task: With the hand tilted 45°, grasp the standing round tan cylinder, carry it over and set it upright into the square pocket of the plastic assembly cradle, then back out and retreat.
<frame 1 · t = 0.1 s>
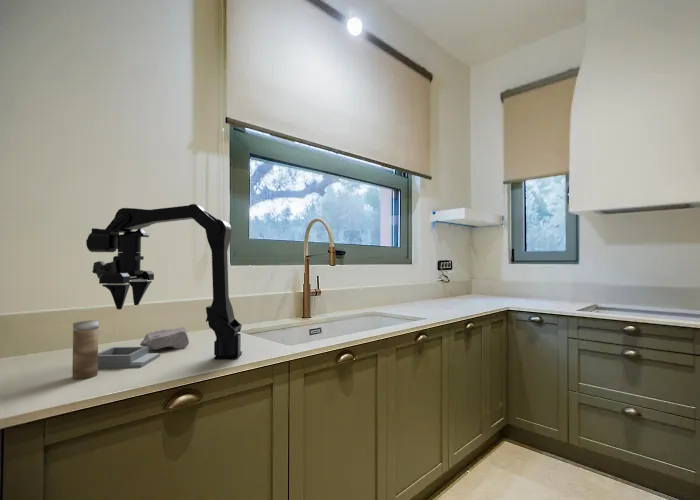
hand: (128, 307, 106), 15 cm above the worktop, fingers open, 9 cm apart
stone: (163, 349, 117), on the worktop
cradle: (121, 362, 102), on the worktop
round tan cylinder: (85, 376, 90), on the worktop
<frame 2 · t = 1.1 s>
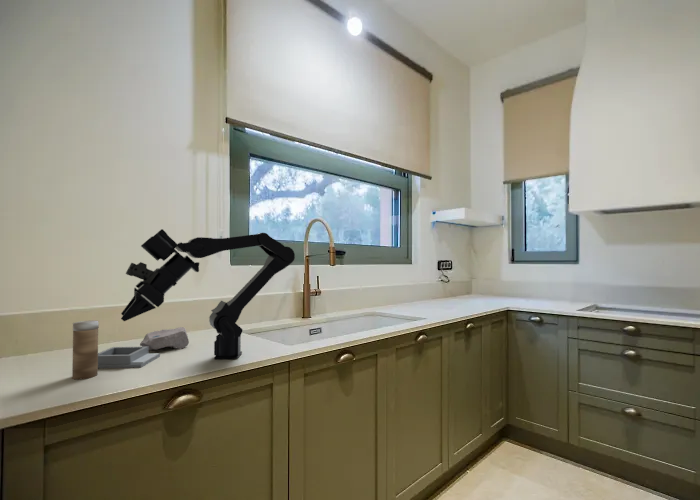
hand: (122, 317, 94), 14 cm above the worktop, fingers open, 9 cm apart
nothing on the worktop moved.
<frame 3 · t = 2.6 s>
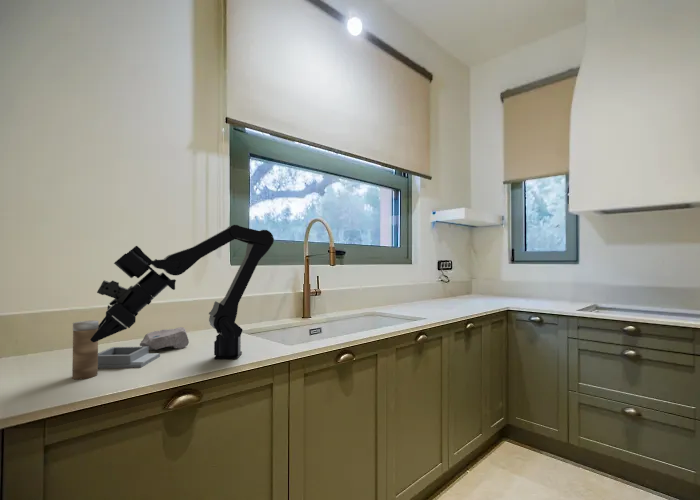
hand: (93, 337, 91), 9 cm above the worktop, fingers open, 9 cm apart
nothing on the worktop moved.
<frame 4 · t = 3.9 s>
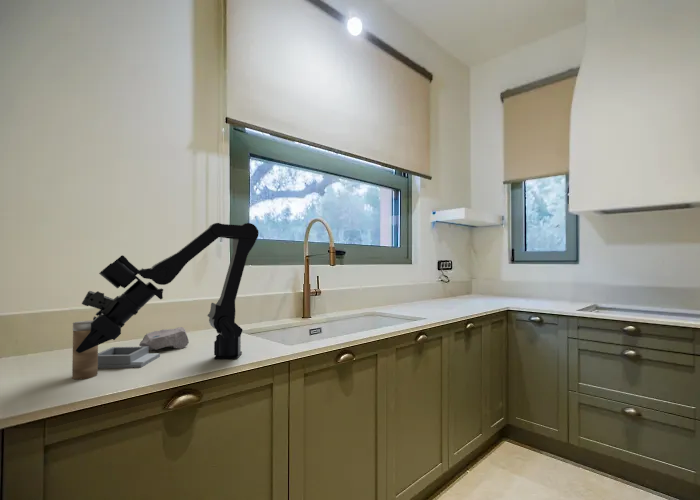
hand: (78, 349, 89), 7 cm above the worktop, fingers closed on round tan cylinder, 5 cm apart
round tan cylinder: (85, 376, 90), on the worktop, touching gripper
everything else where it was.
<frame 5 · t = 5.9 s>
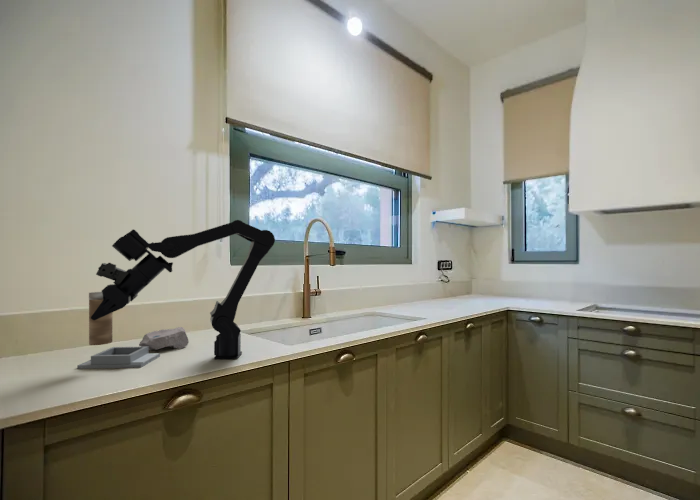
hand: (94, 317, 95), 13 cm above the worktop, fingers closed on round tan cylinder, 5 cm apart
round tan cylinder: (100, 342, 95), point 7 cm above the worktop, touching gripper
everything else where it was.
when the fingers open (9 cm above the worktop, at t = 8.0 s): round tan cylinder drops 1 cm, resting on cradle.
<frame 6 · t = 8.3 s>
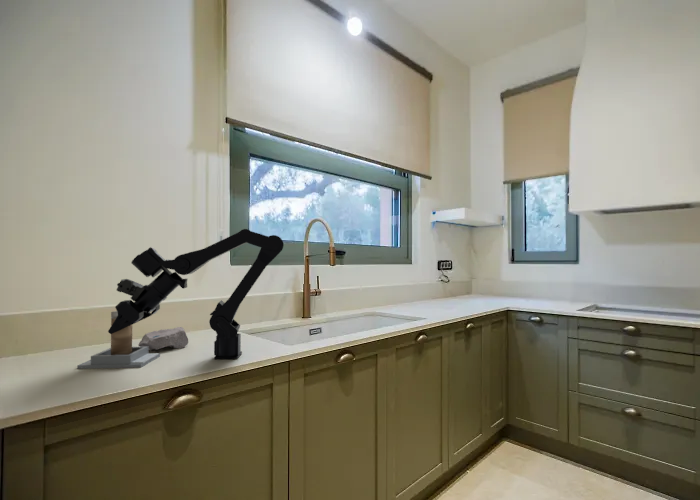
hand: (115, 329, 102), 9 cm above the worktop, fingers open, 8 cm apart
round tan cylinder: (121, 358, 102), point 1 cm above the worktop, touching cradle
everything else where it was.
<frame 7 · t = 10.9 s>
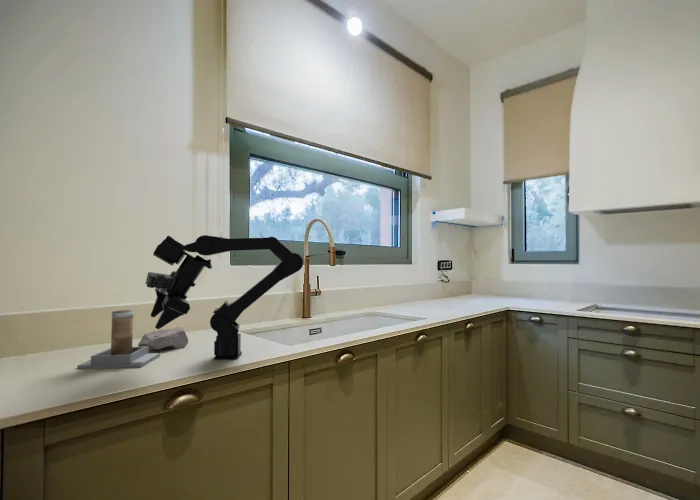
hand: (154, 322, 103), 11 cm above the worktop, fingers open, 9 cm apart
nothing on the worktop moved.
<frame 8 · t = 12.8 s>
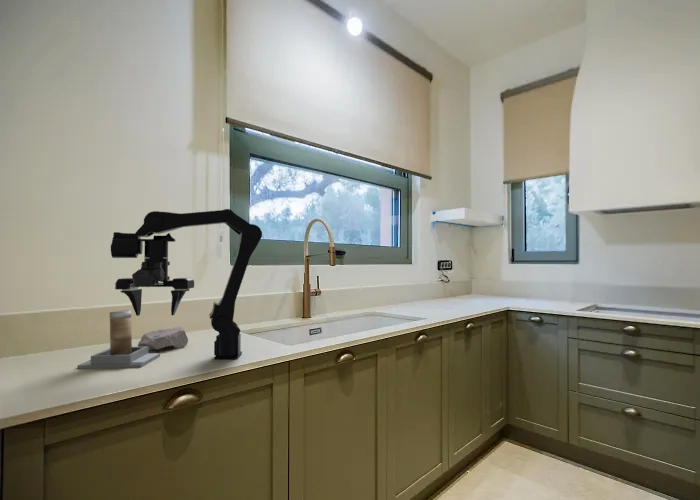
hand: (155, 315, 101), 13 cm above the worktop, fingers open, 9 cm apart
nothing on the worktop moved.
at the end: round tan cylinder 0.1 cm off-centre on the cradle, point 0.8 cm above the cradle's base; round tan cylinder tilted 1°; the gripper is holding nothing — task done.
